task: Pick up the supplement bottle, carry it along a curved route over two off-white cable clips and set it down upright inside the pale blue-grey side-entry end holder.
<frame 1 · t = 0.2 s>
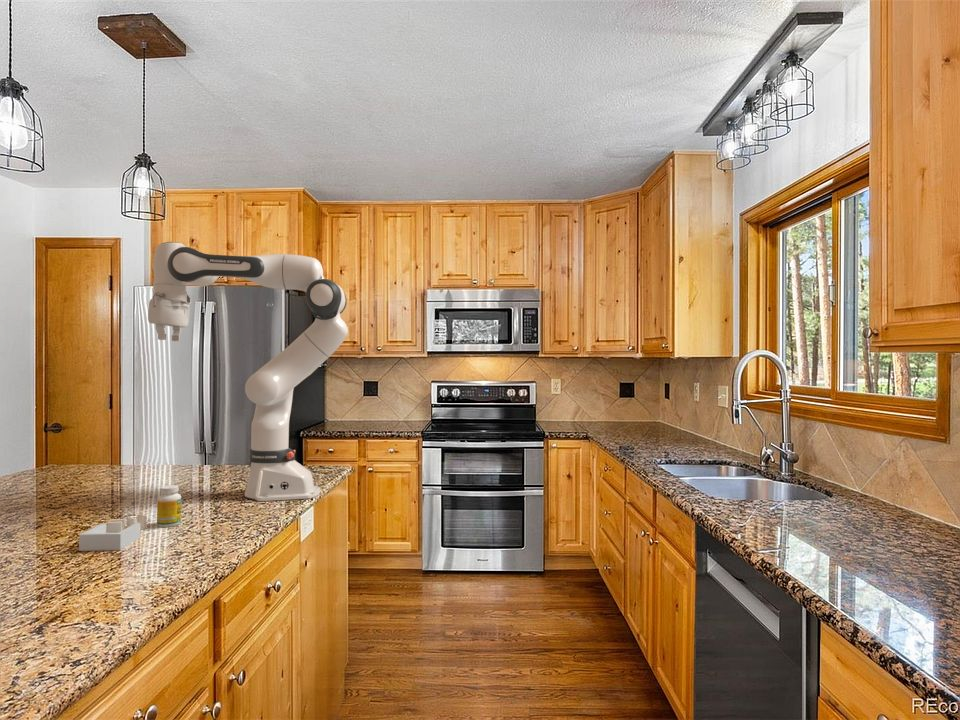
hand: (168, 340, 172), 48 cm above the worktop, tool pointing down, fingers open, 8 cm apart
supplement bottle: (168, 525, 141), on the worktop
end holder: (110, 544, 126), on the worktop
clip b: (116, 533, 133), on the worktop
clip a: (136, 528, 137), on the worktop
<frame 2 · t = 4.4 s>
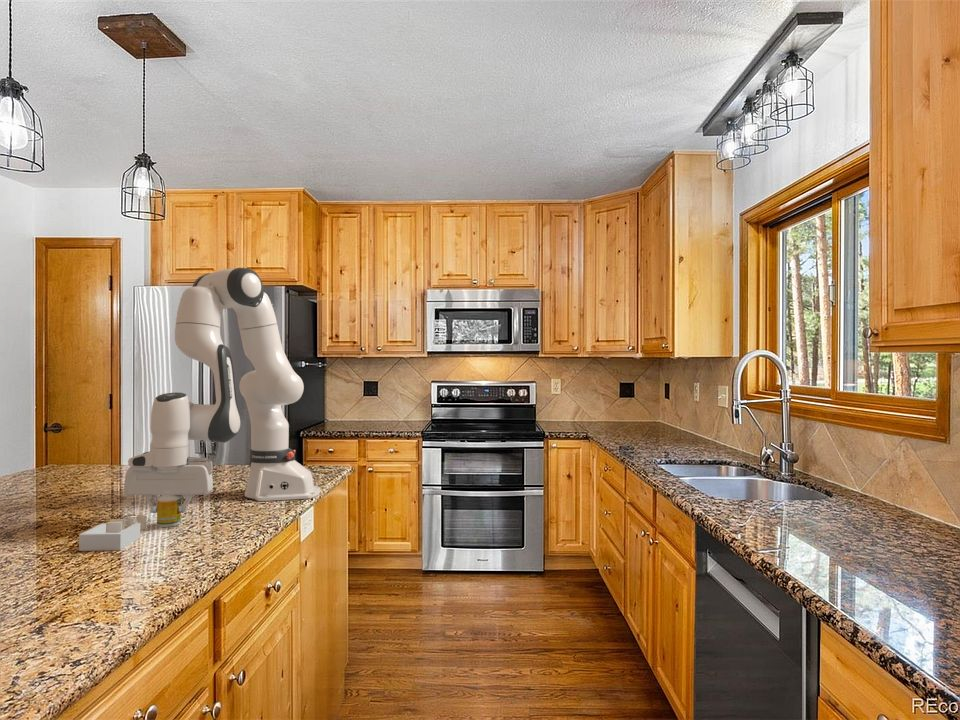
hand: (169, 512, 141), 3 cm above the worktop, tool pointing down, fingers closed on supplement bottle, 5 cm apart
supplement bottle: (168, 525, 141), on the worktop, touching gripper
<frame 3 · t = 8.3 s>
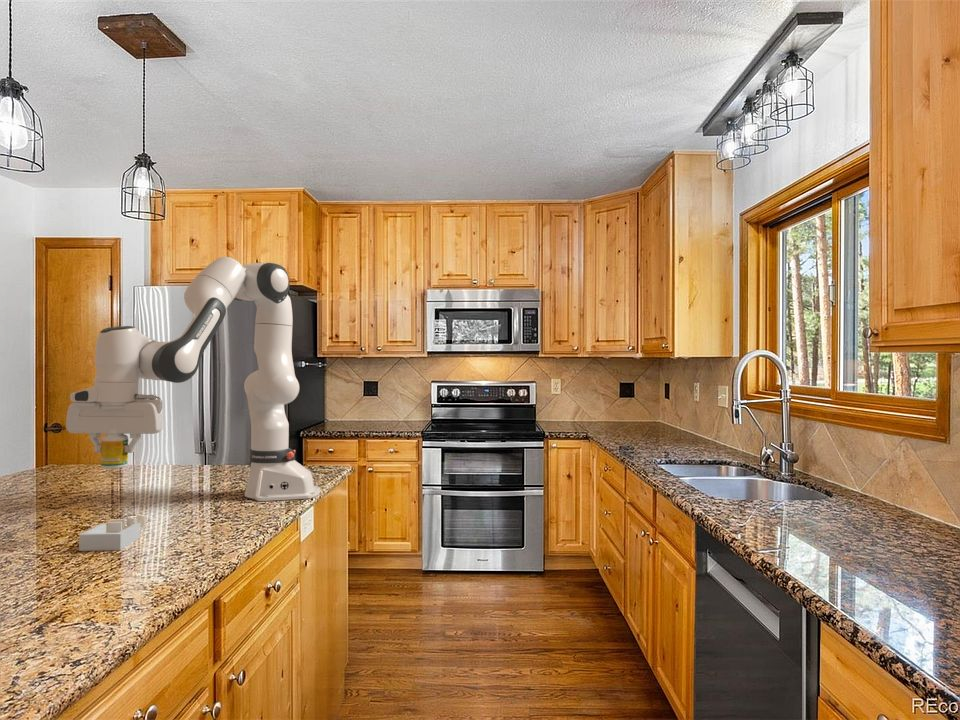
hand: (114, 452, 132), 20 cm above the worktop, tool pointing down, fingers closed on supplement bottle, 5 cm apart
supplement bottle: (114, 468, 132), point 16 cm above the worktop, touching gripper
when the fingers open (5 cm above the worktop, at t = 11.9 s): supplement bottle drops 1 cm, resting on end holder.
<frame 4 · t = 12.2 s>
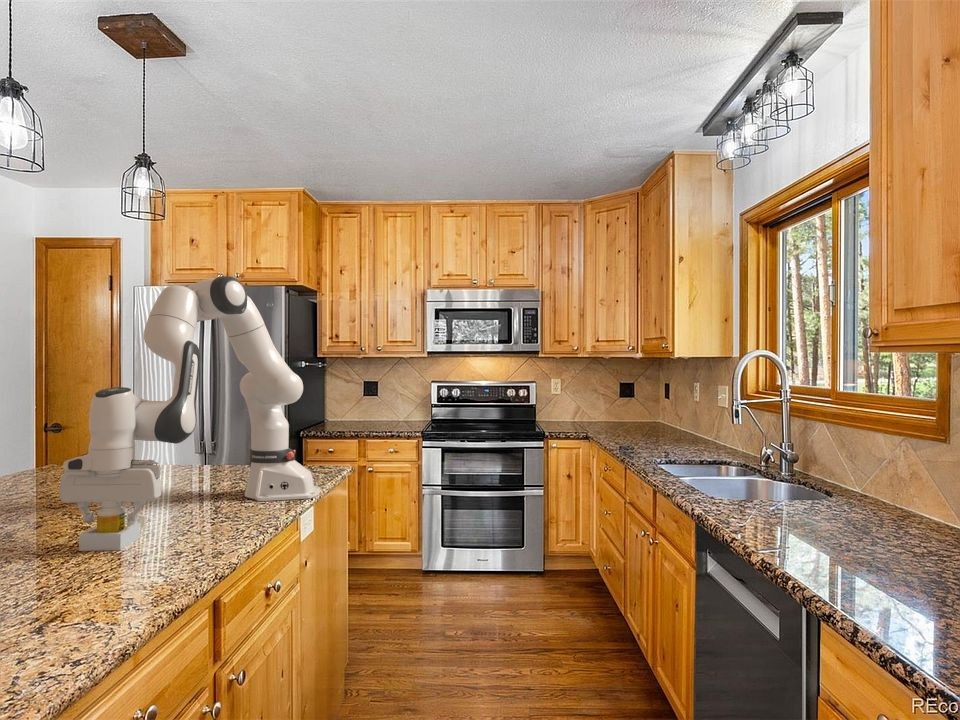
hand: (111, 521, 126), 5 cm above the worktop, tool pointing down, fingers open, 8 cm apart
supplement bottle: (110, 542, 126), resting on end holder
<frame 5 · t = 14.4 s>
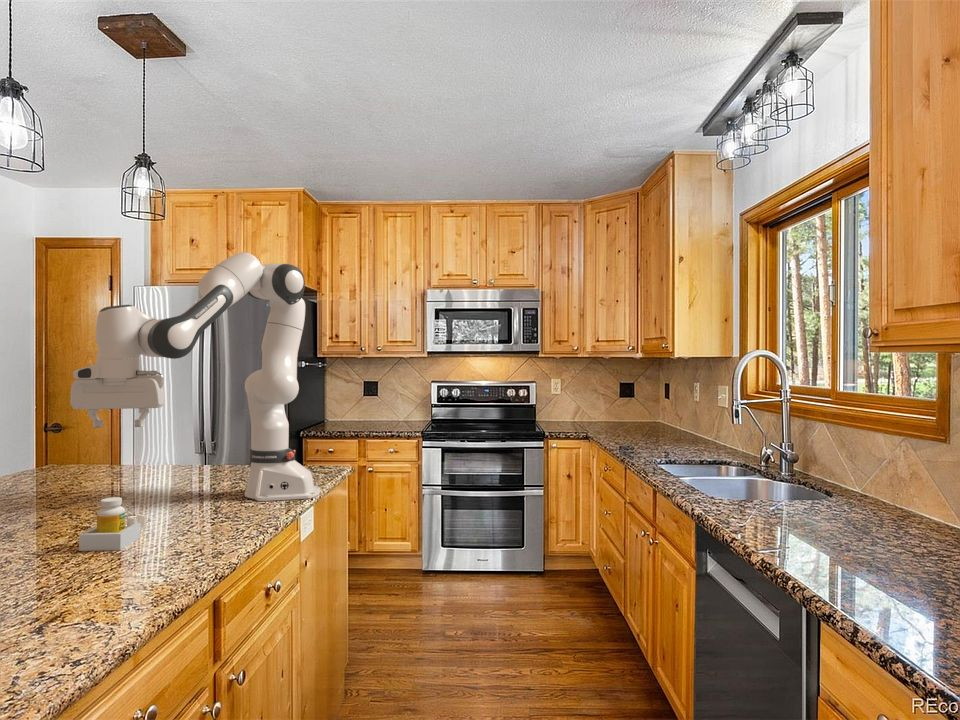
hand: (118, 427, 137), 25 cm above the worktop, tool pointing down, fingers open, 8 cm apart
nothing on the worktop moved.
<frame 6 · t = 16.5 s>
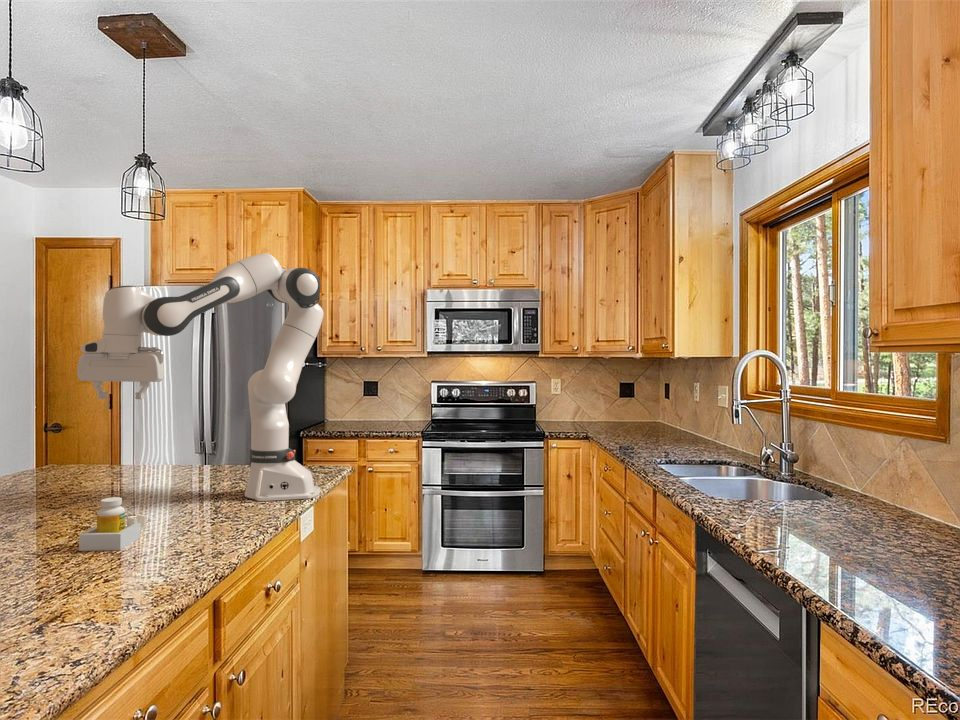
hand: (121, 398, 148), 31 cm above the worktop, tool pointing down, fingers open, 8 cm apart
nothing on the worktop moved.
at the end: supplement bottle 0.1 cm off-centre on the end holder, point 0.3 cm above the end holder's base; supplement bottle tilted 0°; the gripper is holding nothing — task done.
